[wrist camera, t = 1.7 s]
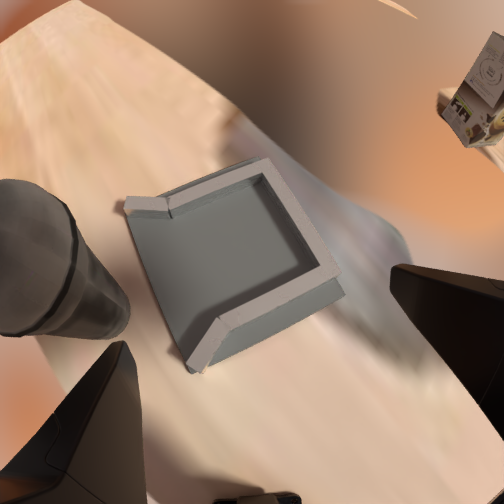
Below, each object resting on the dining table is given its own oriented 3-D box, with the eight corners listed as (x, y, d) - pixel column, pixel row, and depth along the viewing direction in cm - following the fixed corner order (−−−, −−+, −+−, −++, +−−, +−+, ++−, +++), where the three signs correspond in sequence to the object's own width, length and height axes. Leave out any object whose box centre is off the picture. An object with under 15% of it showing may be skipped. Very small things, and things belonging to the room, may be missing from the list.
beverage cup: (106, 376, 20) (-149, 331, 1) (52, 312, 21) (-144, 192, 3) (166, 308, 22) (-12, 94, 4) (106, 250, 24) (-40, 53, 5)
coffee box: (466, 150, 31) (529, 65, 16) (439, 114, 33) (490, 28, 18) (496, 146, 33) (552, 77, 18) (473, 114, 35) (520, 43, 20)
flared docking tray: (195, 376, 21) (192, 377, 19) (126, 210, 25) (120, 199, 23) (345, 299, 23) (354, 293, 21) (256, 156, 28) (258, 143, 26)
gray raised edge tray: (192, 374, 21) (191, 374, 20) (125, 213, 25) (124, 211, 25) (344, 296, 23) (345, 294, 23) (258, 159, 28) (258, 156, 27)
